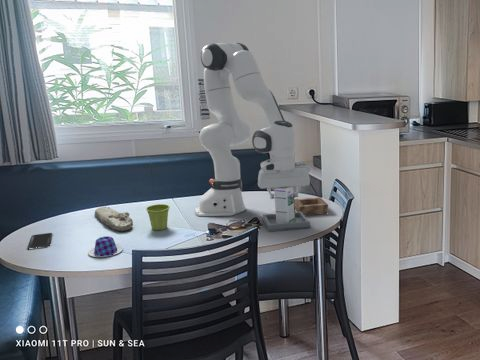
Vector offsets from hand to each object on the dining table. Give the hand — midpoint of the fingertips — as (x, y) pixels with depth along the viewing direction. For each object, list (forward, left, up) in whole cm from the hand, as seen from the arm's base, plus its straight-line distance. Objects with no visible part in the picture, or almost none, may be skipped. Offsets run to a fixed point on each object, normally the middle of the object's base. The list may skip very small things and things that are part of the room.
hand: (284, 197), depth 191 cm
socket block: (+14, +15, -11) cm, 23 cm away
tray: (0, 0, -11) cm, 11 cm away
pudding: (-68, -14, -11) cm, 70 cm away
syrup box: (0, -1, -10) cm, 10 cm away
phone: (-95, +3, -11) cm, 95 cm away
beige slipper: (-70, +22, -11) cm, 74 cm away
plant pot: (-50, +8, -11) cm, 52 cm away
